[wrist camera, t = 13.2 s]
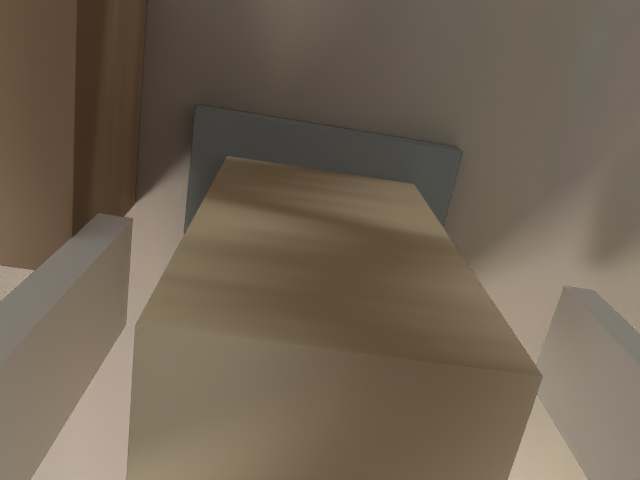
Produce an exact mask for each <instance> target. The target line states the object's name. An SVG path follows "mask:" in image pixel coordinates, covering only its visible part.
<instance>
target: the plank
mask: <svg viewBox="0 0 640 480" xmlns="http://www.w3.org/2000/svg"><path fill="white" fill-rule="evenodd" d="M146 10H147V0H0V265H2V266H9V267H17V268H24V269H31V270H36V269H37V268H38V267H39V266H41V265H42V264H43V263H44V262H45V261H46V260H47V259H48V258H49V257H51V256H52V255H53V254H54V253H55V252H56V251H57V250H58V249H59V248H60V247H62V246H63V245H64V244H65V243H66V242H67V241H68V240H69V239H70V238H73V237H74V236H75V235H76V234H77V233H78V232H79V231H80V230H81V229H82V228H83V227H84V226H85V225H86V224H87V223H88V222H89V221H90V220H92V219H93V218H94V217H95V216H96V215H97V214H98V213H101V214H107V215H114V216H120V217H124V216H125V215H126V213H127V212H128V211H129V210H130V209H131V208H132V207H133V206H134V205H135V195H136V178H137V161H138V144H139V127H140V111H141V94H142V77H143V60H144V43H145V27H146Z"/></svg>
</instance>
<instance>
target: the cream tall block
mask: <svg viewBox="0 0 640 480" xmlns="http://www.w3.org/2000/svg"><path fill="white" fill-rule="evenodd" d="M542 378H543V376H542V374H541V373H540V371H539V370H538V368H537V367H536V365H535V364H534V362H533V361H532V359H531V358H530V356H529V355H528V353H527V352H526V350H525V349H524V347H523V346H522V344H521V343H520V341H519V340H518V338H517V337H516V335H515V334H514V332H513V331H512V329H511V328H510V326H509V325H508V323H507V322H506V320H505V319H504V317H503V316H502V314H501V313H500V311H499V310H498V308H497V307H496V305H495V304H494V303H493V301H492V300H491V298H490V297H489V295H488V294H487V292H486V291H485V289H484V288H483V286H482V285H481V283H480V282H479V280H478V279H477V277H476V276H475V274H474V273H473V271H472V270H471V268H470V267H469V265H468V264H467V262H466V261H465V259H464V258H463V256H462V255H461V253H460V252H459V250H458V249H457V247H456V246H455V244H454V243H453V241H452V240H451V238H450V237H449V235H448V234H447V232H446V231H445V229H444V228H443V226H442V225H441V223H440V222H439V220H438V219H437V218H436V216H435V215H434V213H433V212H432V210H431V209H430V207H429V206H428V204H427V203H426V201H425V200H424V198H423V197H422V195H421V194H420V192H419V191H418V189H417V188H416V186H415V185H414V184H411V183H404V182H398V181H391V180H384V179H378V178H371V177H365V176H358V175H351V174H345V173H338V172H331V171H325V170H318V169H311V168H305V167H298V166H292V165H285V164H278V163H272V162H265V161H258V160H252V159H245V158H238V157H232V156H227V157H226V159H225V161H224V163H223V165H222V166H221V168H220V170H219V172H218V174H217V176H216V177H215V179H214V181H213V183H212V185H211V187H210V188H209V190H208V192H207V194H206V196H205V198H204V200H203V201H202V203H201V205H200V207H199V209H198V211H197V212H196V214H195V216H194V218H193V220H192V222H191V223H190V225H189V227H188V229H187V231H186V233H185V234H184V236H183V238H182V240H181V242H180V244H179V246H178V247H177V249H176V251H175V253H174V255H173V257H172V258H171V260H170V262H169V264H168V266H167V268H166V269H165V271H164V273H163V275H162V277H161V279H160V280H159V282H158V284H157V286H156V288H155V290H154V292H153V293H152V295H151V297H150V299H149V301H148V303H147V304H146V306H145V308H144V310H143V312H142V314H141V315H140V317H139V319H138V321H137V323H136V325H135V337H134V354H133V372H132V390H131V407H130V425H129V442H128V460H127V477H126V480H508V477H509V474H510V471H511V468H512V465H513V462H514V459H515V456H516V453H517V451H518V448H519V445H520V442H521V439H522V436H523V433H524V430H525V427H526V424H527V421H528V419H529V416H530V413H531V410H532V407H533V404H534V401H535V398H536V395H537V392H538V390H539V387H540V384H541V381H542Z"/></svg>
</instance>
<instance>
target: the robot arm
mask: <svg viewBox="0 0 640 480" xmlns="http://www.w3.org/2000/svg"><path fill="white" fill-rule="evenodd" d="M132 221H133V218H126V217H120V216H114V215H107V214H101V213H98V214H97V215H96V216H95V217H94V218H93V219H92V220H90V221H89V222H88V223H87V224H86V225H85V226H84V227H83V228H82V229H81V230H80V231H79V232H78V233H77V234H76V235H75V236H74V237H73V238H70V239H69V240H68V241H67V242H66V243H65V244H64V245H63V246H62V247H60V248H59V249H58V250H57V251H56V252H55V253H54V254H53V255H52V256H51V257H49V258H48V259H47V260H46V261H45V262H44V263H43V264H42V265H41V266H39V267H38V268H37V269H36V270H35V271H34V272H33V273H32V274H31V275H29V276H28V277H27V278H26V279H25V280H24V281H23V282H22V283H21V284H19V285H18V286H17V287H16V288H15V289H14V290H13V291H12V292H11V293H9V294H8V295H7V296H6V297H5V298H4V299H3V300H2V301H1V302H0V480H31V478H32V476H33V475H34V473H35V472H36V470H37V468H38V467H39V465H40V463H41V462H42V460H43V459H44V457H45V455H46V454H47V452H48V450H49V449H50V447H51V446H52V444H53V442H54V441H55V439H56V437H57V436H58V434H59V433H60V431H61V429H62V428H63V426H64V424H65V423H66V421H67V420H68V418H69V416H70V415H71V413H72V411H73V410H74V408H75V406H76V405H77V403H78V402H79V400H80V398H81V397H82V395H83V393H84V392H85V390H86V389H87V387H88V385H89V384H90V382H91V380H92V379H93V377H94V376H95V374H96V372H97V371H98V369H99V367H100V366H101V364H102V363H103V361H104V359H105V358H106V356H107V354H108V353H109V351H110V350H111V348H112V346H113V345H114V343H115V341H116V340H117V338H118V337H119V335H120V333H121V332H122V330H123V328H124V327H125V325H126V317H127V301H128V285H129V269H130V253H131V237H132ZM536 367H537V368H538V370H539V371H540V373H541V374H542V376H543V378H542V381H541V384H540V387H539V390H538V392H537V395H538V396H539V398H540V400H541V401H542V403H543V405H544V406H545V408H546V410H547V411H548V413H549V415H550V416H551V418H552V420H553V421H554V423H555V425H556V426H557V428H558V430H559V431H560V433H561V435H562V437H563V438H564V440H565V442H566V443H567V445H568V447H569V448H570V450H571V452H572V453H573V455H574V457H575V458H576V460H577V462H578V463H579V465H580V467H581V468H582V470H583V472H584V473H585V475H586V477H587V478H588V480H640V334H639V333H638V332H637V331H636V330H635V329H634V328H633V327H632V326H631V325H630V324H629V323H628V322H626V321H625V320H624V319H623V318H622V317H621V316H620V315H619V314H618V313H617V312H616V311H615V310H614V309H613V308H612V307H611V306H610V305H609V304H608V303H607V302H606V301H605V300H604V299H603V298H602V297H601V296H600V295H599V294H598V293H596V292H595V291H594V290H587V289H581V288H574V287H568V286H564V288H563V290H562V293H561V296H560V299H559V302H558V305H557V308H556V310H555V313H554V316H553V319H552V322H551V325H550V327H549V330H548V333H547V336H546V339H545V342H544V345H543V347H542V350H541V353H540V356H539V359H538V362H537V365H536Z"/></svg>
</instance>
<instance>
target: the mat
mask: <svg viewBox="0 0 640 480" xmlns="http://www.w3.org/2000/svg"><path fill="white" fill-rule="evenodd" d="M227 156H232V157H238V158H245V159H252V160H258V161H265V162H272V163H278V164H285V165H292V166H298V167H305V168H311V169H318V170H325V171H331V172H338V173H345V174H351V175H358V176H365V177H371V178H378V179H384V180H391V181H398V182H404V183H411V184H414V185H415V186H416V188H417V189H418V191H419V192H420V194H421V195H422V197H423V198H424V200H425V201H426V203H427V204H428V206H429V207H430V209H431V210H432V212H433V213H434V215H435V216H436V218H437V219H438V220H439V222H440V223H441V225H442V226H444V222H445V218H446V214H447V210H448V206H449V202H450V199H451V195H452V191H453V187H454V183H455V179H456V175H457V171H458V167H459V163H460V159H461V156H462V151H461V150H460V149H459V148H458V147H455V146H448V145H442V144H436V143H430V142H424V141H418V140H412V139H406V138H400V137H394V136H387V135H381V134H375V133H369V132H363V131H357V130H351V129H345V128H339V127H333V126H326V125H320V124H314V123H308V122H302V121H296V120H290V119H284V118H278V117H272V116H265V115H259V114H253V113H247V112H241V111H235V110H229V109H223V108H217V107H211V106H204V105H198V106H197V107H196V108H195V117H194V128H193V139H192V150H191V161H190V172H189V182H188V193H187V204H186V215H185V226H184V234H185V233H186V231H187V229H188V227H189V225H190V223H191V222H192V220H193V218H194V216H195V214H196V212H197V211H198V209H199V207H200V205H201V203H202V201H203V200H204V198H205V196H206V194H207V192H208V190H209V188H210V187H211V185H212V183H213V181H214V179H215V177H216V176H217V174H218V172H219V170H220V168H221V166H222V165H223V163H224V161H225V159H226V157H227Z"/></svg>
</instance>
